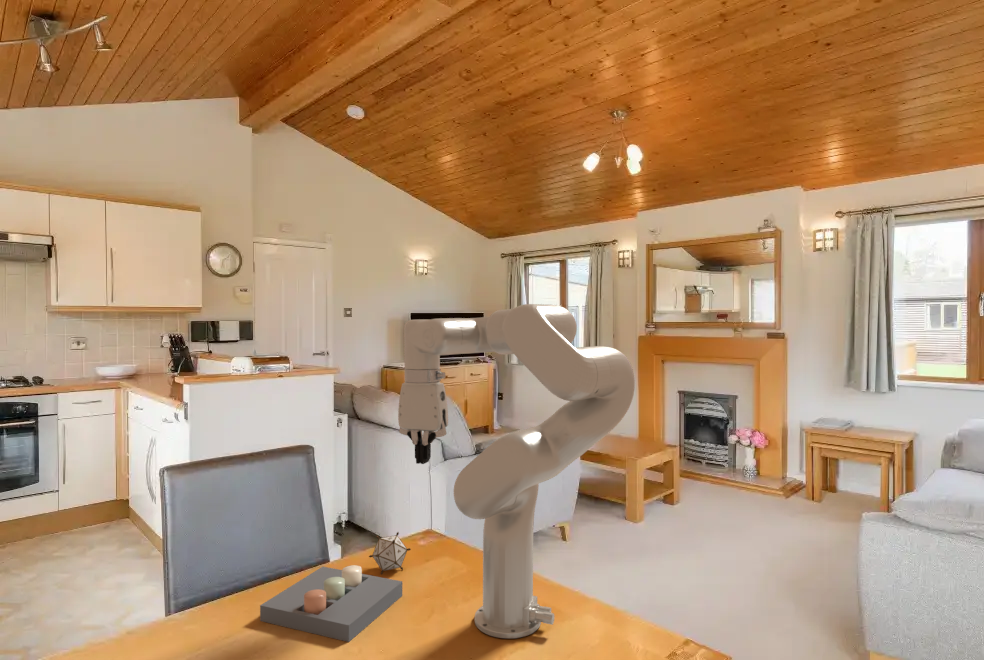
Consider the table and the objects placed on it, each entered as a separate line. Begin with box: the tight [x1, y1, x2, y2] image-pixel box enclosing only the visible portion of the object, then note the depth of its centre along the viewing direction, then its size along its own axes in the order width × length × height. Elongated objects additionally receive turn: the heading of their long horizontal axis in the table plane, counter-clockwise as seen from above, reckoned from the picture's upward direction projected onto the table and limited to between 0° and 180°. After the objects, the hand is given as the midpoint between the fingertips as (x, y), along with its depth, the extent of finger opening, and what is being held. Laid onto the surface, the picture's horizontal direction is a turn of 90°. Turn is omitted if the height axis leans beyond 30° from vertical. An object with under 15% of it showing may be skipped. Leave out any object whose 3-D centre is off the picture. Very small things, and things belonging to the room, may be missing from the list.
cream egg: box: [341, 564, 363, 587], centre depth 125 cm, size 4×4×5 cm
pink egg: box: [304, 589, 326, 615], centre depth 113 cm, size 4×4×5 cm
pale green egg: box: [324, 577, 345, 601], centre depth 119 cm, size 4×4×5 cm
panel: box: [259, 566, 403, 643], centre depth 119 cm, size 20×19×3 cm
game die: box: [368, 531, 412, 575], centre depth 137 cm, size 9×8×10 cm
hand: (422, 462), depth 128 cm, fingers closed
